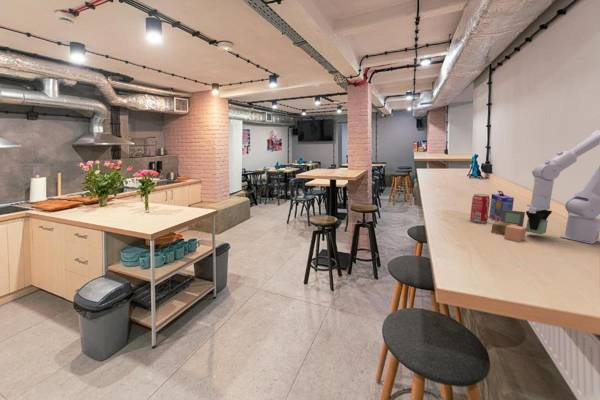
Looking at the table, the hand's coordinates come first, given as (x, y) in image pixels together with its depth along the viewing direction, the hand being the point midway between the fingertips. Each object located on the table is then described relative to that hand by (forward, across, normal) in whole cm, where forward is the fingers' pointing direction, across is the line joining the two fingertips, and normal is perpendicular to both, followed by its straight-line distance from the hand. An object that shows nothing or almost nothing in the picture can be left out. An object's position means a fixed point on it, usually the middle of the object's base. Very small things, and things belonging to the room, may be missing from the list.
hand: (536, 228), depth 117 cm
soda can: (+3, -5, -24) cm, 25 cm away
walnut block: (+4, +5, -9) cm, 11 cm away
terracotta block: (+3, +11, -3) cm, 12 cm away
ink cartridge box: (+4, -17, -20) cm, 27 cm away
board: (+3, -7, -11) cm, 13 cm away
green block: (+1, 0, 0) cm, 1 cm away
